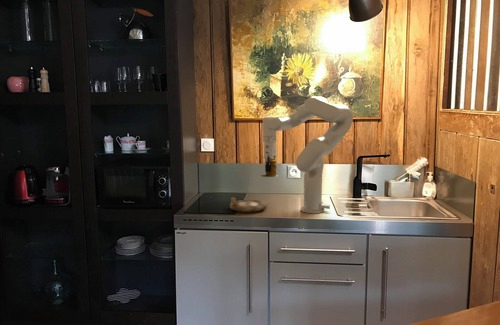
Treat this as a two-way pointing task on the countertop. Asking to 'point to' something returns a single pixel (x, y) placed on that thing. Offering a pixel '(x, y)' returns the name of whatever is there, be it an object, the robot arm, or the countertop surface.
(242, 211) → the base
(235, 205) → the brown round disc
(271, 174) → the condiment
